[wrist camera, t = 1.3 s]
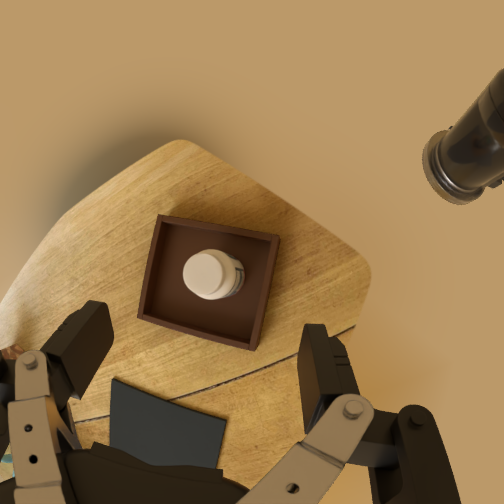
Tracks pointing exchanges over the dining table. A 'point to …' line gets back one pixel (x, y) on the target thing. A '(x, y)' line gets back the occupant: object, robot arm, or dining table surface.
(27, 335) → the dining table surface
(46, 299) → the dining table surface
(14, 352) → the figurine
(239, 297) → the tray
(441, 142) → the robot arm
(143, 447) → the mat
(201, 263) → the pill bottle
